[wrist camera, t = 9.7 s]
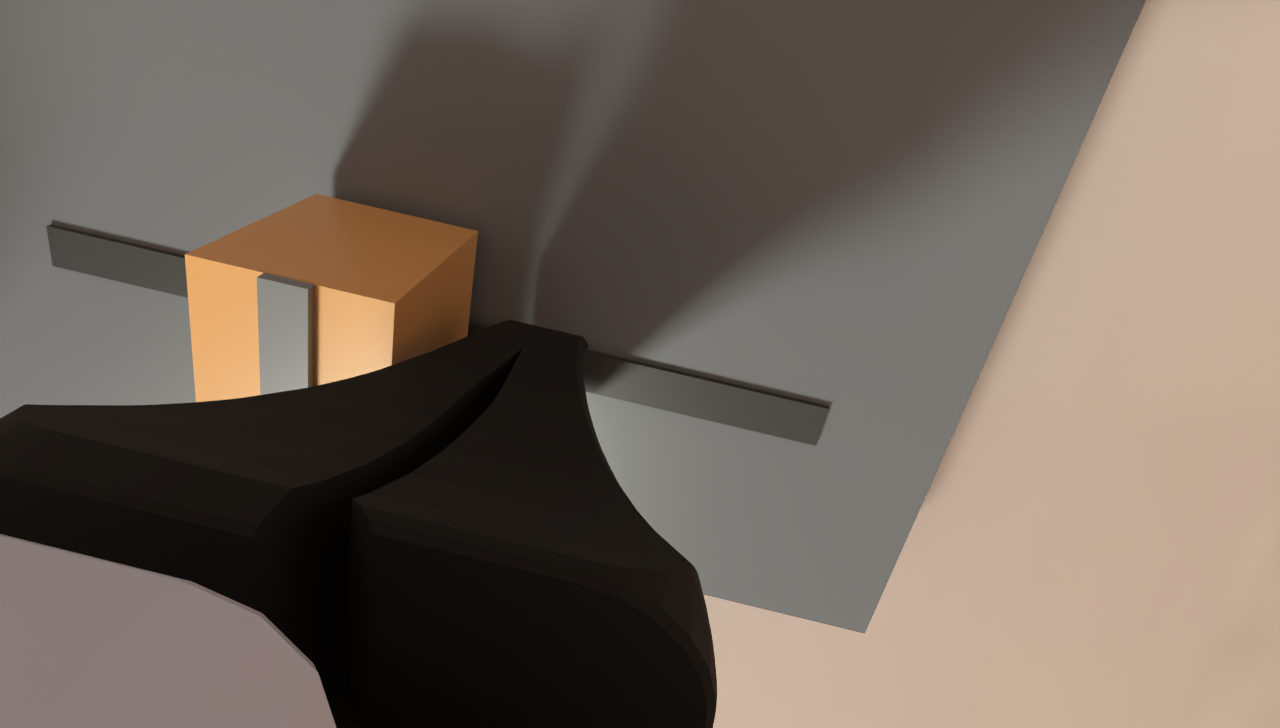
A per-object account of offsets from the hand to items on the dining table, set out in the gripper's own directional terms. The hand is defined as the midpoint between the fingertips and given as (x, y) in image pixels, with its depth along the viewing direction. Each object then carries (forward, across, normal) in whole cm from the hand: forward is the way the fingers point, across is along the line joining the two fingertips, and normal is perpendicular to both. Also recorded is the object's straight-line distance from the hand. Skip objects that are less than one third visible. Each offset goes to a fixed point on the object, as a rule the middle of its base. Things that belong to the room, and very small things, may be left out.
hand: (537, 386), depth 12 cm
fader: (+1, +3, 0) cm, 3 cm away
